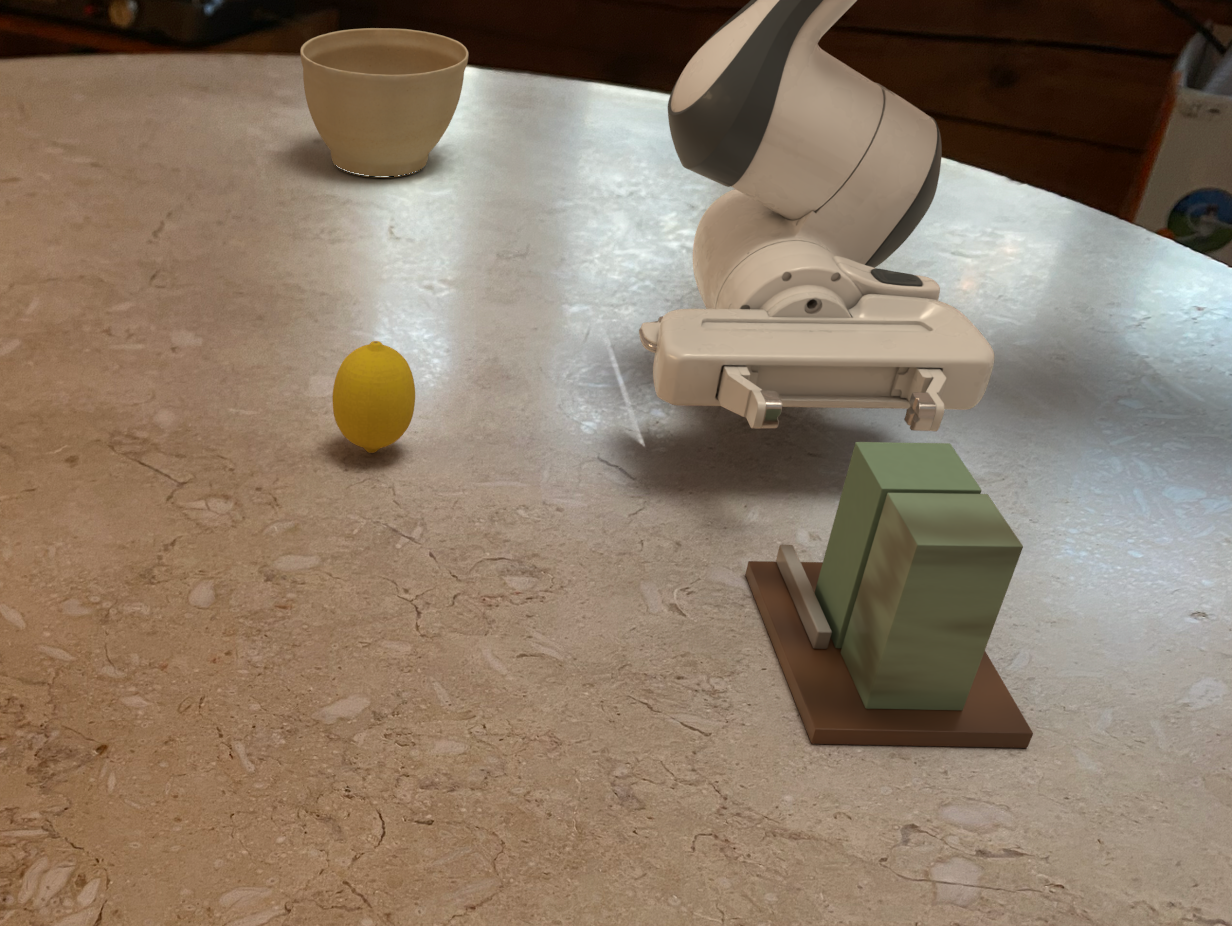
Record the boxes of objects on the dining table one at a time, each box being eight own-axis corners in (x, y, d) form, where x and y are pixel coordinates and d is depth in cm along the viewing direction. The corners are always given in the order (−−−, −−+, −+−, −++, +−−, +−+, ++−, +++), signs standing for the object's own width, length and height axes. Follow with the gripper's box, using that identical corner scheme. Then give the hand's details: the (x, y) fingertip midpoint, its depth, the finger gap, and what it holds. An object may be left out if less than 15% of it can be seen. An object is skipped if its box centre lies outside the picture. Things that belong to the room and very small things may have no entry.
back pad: (812, 597, 84) (855, 441, 78) (900, 599, 84) (950, 442, 78) (835, 648, 80) (882, 488, 74) (927, 650, 80) (982, 489, 74)
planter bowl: (279, 183, 143) (279, 64, 136) (324, 133, 155) (326, 22, 148) (441, 199, 139) (449, 78, 132) (473, 147, 151) (483, 34, 144)
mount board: (744, 574, 88) (783, 407, 81) (930, 577, 87) (985, 410, 80) (811, 744, 75) (864, 563, 68) (1027, 748, 75) (1102, 567, 68)
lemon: (391, 427, 103) (396, 319, 98) (425, 463, 99) (433, 352, 94) (318, 441, 101) (320, 332, 96) (350, 478, 97) (354, 366, 92)
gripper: (641, 274, 95) (680, 366, 84) (959, 277, 94) (1039, 371, 84) (627, 364, 99) (662, 463, 88) (932, 368, 98) (1004, 469, 88)
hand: (848, 419), depth 86 cm, fingers open, 8 cm apart
